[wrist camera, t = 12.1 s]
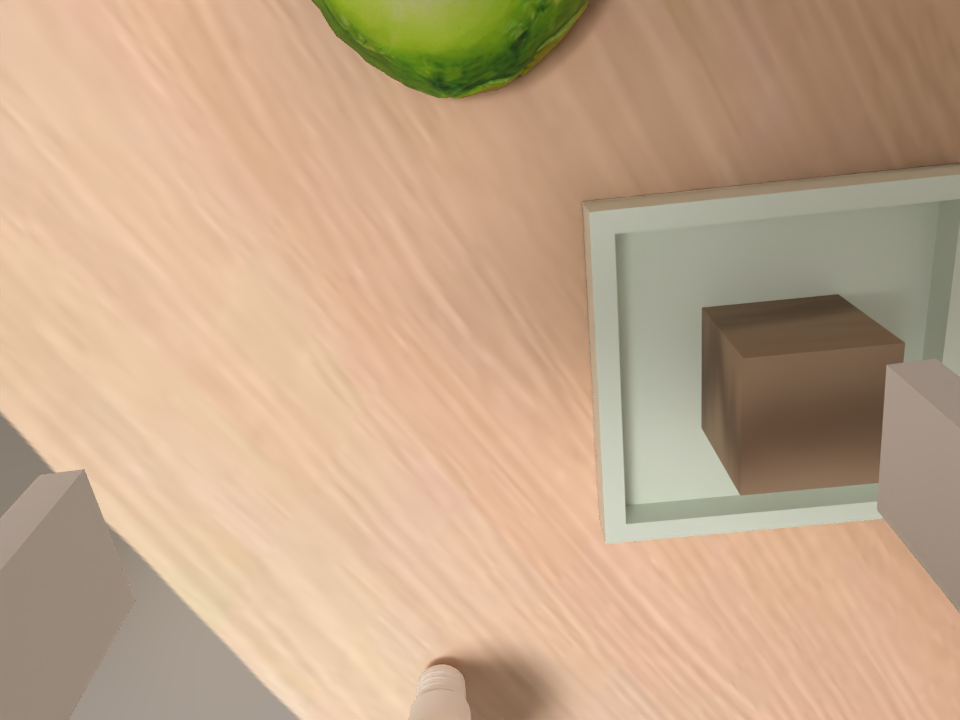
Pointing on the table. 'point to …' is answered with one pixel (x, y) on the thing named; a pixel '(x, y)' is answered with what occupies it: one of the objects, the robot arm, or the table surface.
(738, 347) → the cube
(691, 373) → the tray
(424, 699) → the lightbulb
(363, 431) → the table surface
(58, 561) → the robot arm
